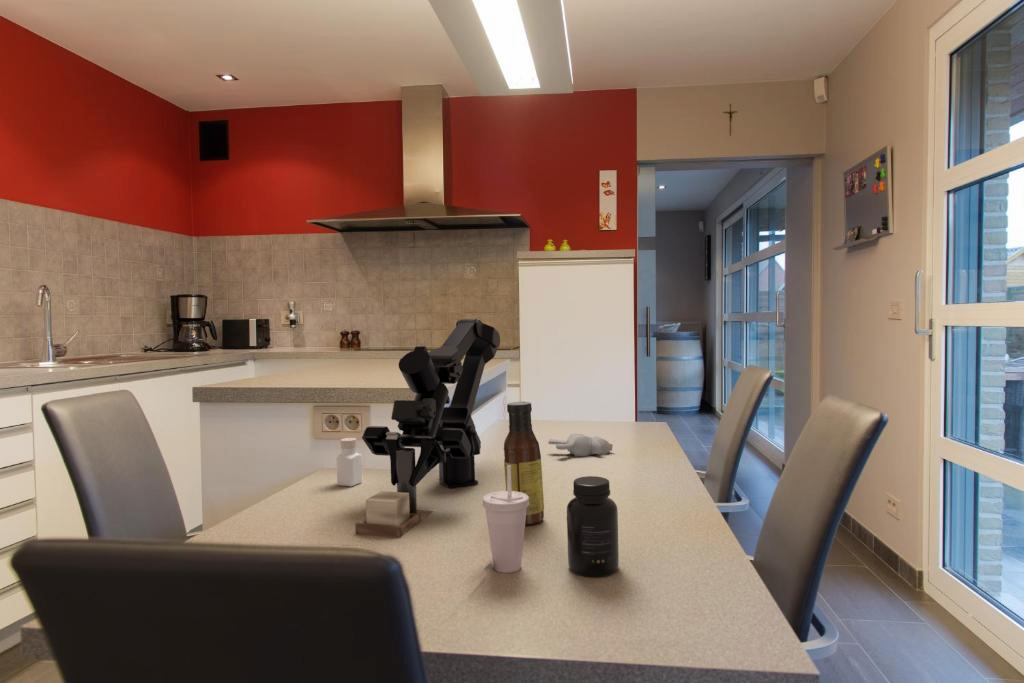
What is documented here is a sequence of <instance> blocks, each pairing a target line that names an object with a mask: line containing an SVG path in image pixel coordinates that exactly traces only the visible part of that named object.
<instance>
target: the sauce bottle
mask: <svg viewBox="0 0 1024 683" xmlns="http://www.w3.org/2000/svg"><path fill="white" fill-rule="evenodd" d="M506 408H507V413H508V423H509V425H508V430H509V431H508V433H507V436H506V438H505V439H504V442H503V452H504V453H503V454H504V455H503V457H504V459H503V463H504V464H503V465H504V481H505V491H508V490H507V465H511V487H512V491H516V492H522V493H525V494H526V495H528V497H529V505H528V506H527V509H526V520H525V526H530V525H535V524H539V523H541V522H542V521H543V520H544V518H545V517H544V516H545V515H544V514H545V501H544V499H545V498H544V485H543V469H542V467H543V466H542V454H541V450H540V444H539V441H538V439H537V437H536V434H535V433H534V430H533V424H532V403H531V402H530V401H513V402H508V403H507V407H506Z"/></svg>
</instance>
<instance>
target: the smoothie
mask: <svg viewBox="0 0 1024 683" xmlns="http://www.w3.org/2000/svg"><path fill="white" fill-rule="evenodd" d="M507 490H508V491H506V490H500V491H494V492H490V493H487V494H485V495H484V496H483V497H482V504H481V505H482V507H483V508H484V509H485V515H486V523H487V531H488V535H489V536H488V537H489V543H490V550H491V557H492V562H493V569H494V570H495V571H496V572H499V573H504V574H507V573H515V572H518V571H520V570H521V567H522V560H523V550H524V539H525V529H526V528H525V527H526V525H525V520H526V509H527V506H528V505H529V497H528V495H526V494H525V493H522V492H516V491H512V487H511V465H507Z"/></svg>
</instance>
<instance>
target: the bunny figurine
mask: <svg viewBox="0 0 1024 683" xmlns="http://www.w3.org/2000/svg"><path fill="white" fill-rule="evenodd" d="M547 443H548V445H555V446H556V448H555V449H557V450H560V451H561V450H562V451H565V450H567V452H569V453H570V455H574V457H575V458H578V457H588V456H590V455H599V456H603V455H605V456H606V455H607V454H608V453H609V452H610V451H613V444H612V443H610V441H608V440H606V439H604V438H602V437H600V436H587V435H585V434H582V433H570V434H569V435H568V437H567V439H566V440H561V439H560V440H559V439H556V438H555V439H554V438H549V440H548V442H547Z"/></svg>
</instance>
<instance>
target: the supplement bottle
mask: <svg viewBox="0 0 1024 683" xmlns="http://www.w3.org/2000/svg"><path fill="white" fill-rule="evenodd" d="M572 483H573V484H572V485H573V493H572V494H573V498H572V499H571V500H569V502H568V503H567V506H566V533H567V534H566V535H567V536H566V537H567V563H568V564H567V565H568V567H569V569H570V570H571V572H573V573H574V574H576V575H579V576H581V577H586V578H603V577H608V576H611V575H613V574H615V572H616V571H618V568H619V564H620V563H619V554H620V553H619V552H620V551H619V512H618V506H617V504H616V502H615V501H614V500H613V499H611V498H610V497H609V496H610V495H611V489H610V480H609V479H608V478H605V477H601V476H597V475H596V476H593V475H590V476H589V475H588V476H580V477H576V478H575V479H574V480H573V482H572ZM574 496H575V497H574Z"/></svg>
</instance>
